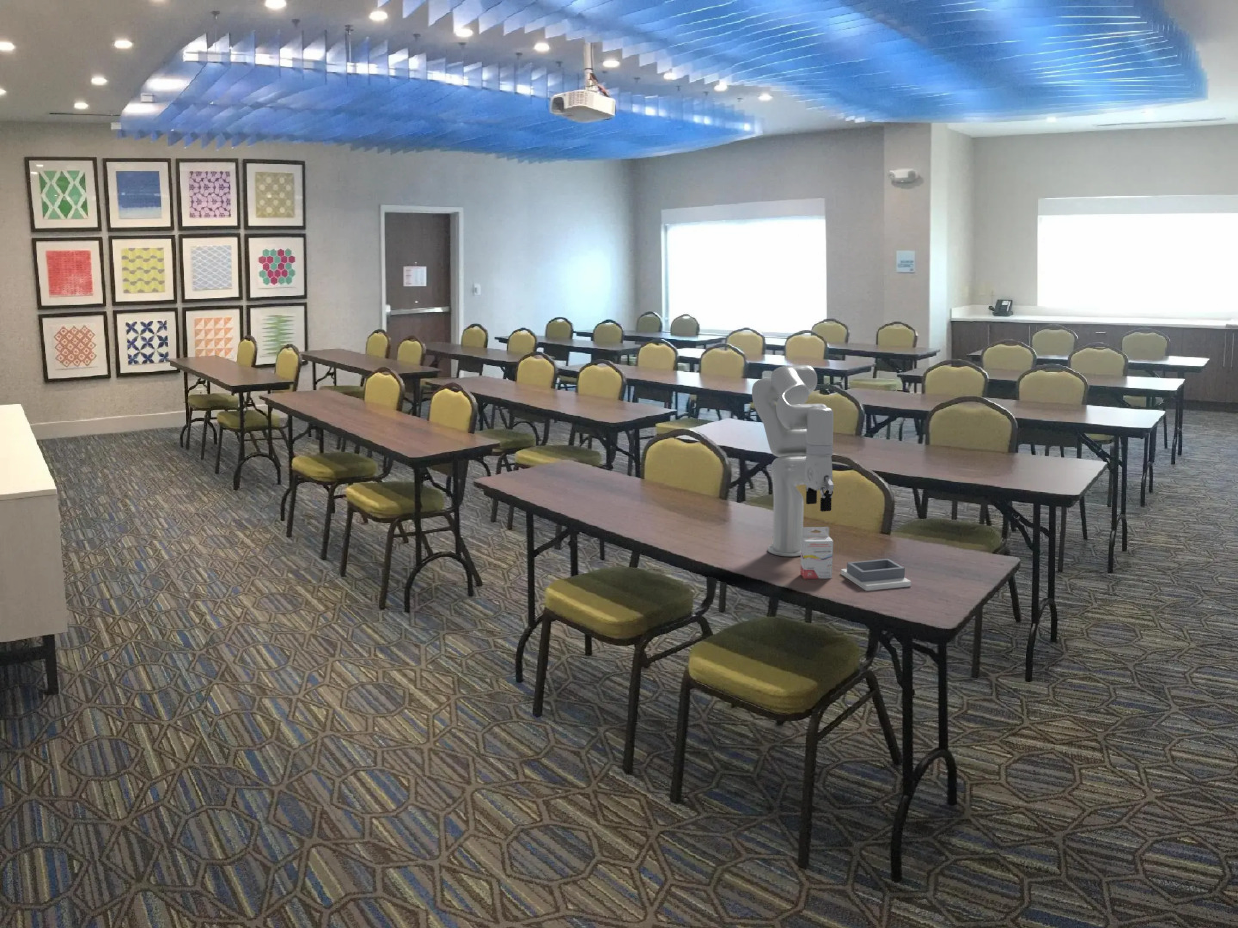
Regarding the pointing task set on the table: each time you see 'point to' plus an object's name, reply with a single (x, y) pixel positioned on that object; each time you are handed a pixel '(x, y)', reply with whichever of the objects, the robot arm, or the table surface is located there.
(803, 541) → the ink cartridge box
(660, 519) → the table surface
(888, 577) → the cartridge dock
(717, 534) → the table surface
